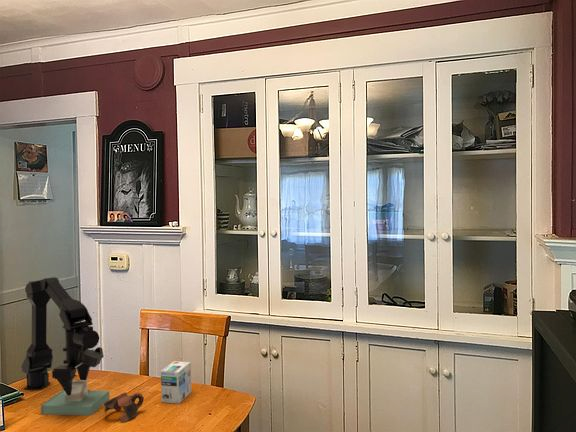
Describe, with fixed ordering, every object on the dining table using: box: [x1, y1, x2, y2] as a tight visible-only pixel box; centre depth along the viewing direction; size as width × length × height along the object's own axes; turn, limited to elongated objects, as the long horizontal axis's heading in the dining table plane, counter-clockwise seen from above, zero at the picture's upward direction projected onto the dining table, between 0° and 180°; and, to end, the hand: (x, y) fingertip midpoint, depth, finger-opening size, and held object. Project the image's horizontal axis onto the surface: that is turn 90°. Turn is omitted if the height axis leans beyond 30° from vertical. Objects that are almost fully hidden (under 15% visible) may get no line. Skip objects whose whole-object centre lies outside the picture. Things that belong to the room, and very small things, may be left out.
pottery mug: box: [103, 392, 145, 423], centre depth 156 cm, size 12×10×8 cm
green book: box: [40, 388, 110, 416], centre depth 163 cm, size 16×13×3 cm
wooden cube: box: [65, 379, 88, 401], centre depth 163 cm, size 5×5×5 cm
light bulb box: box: [160, 360, 192, 404], centre depth 169 cm, size 11×7×11 cm, turn 168°
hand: (76, 389), depth 163 cm, fingers open, 9 cm apart
